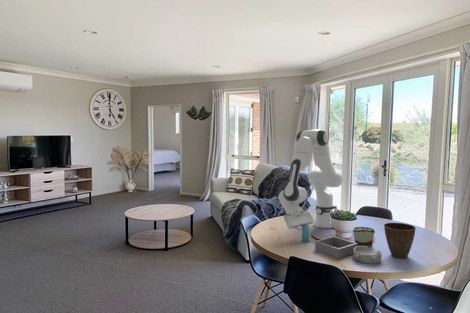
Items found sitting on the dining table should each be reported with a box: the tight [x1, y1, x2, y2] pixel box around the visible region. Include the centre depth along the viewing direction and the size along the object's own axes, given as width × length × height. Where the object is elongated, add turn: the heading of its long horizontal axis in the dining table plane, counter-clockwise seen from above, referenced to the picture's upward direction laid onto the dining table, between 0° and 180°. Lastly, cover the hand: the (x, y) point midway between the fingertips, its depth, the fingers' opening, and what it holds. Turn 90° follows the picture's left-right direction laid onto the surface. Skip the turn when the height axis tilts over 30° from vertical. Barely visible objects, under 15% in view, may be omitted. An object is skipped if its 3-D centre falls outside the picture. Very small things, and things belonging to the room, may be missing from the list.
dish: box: [352, 246, 382, 265], centre depth 170 cm, size 14×14×5 cm
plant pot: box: [383, 222, 417, 259], centre depth 174 cm, size 15×15×16 cm
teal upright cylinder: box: [301, 226, 310, 243], centre depth 200 cm, size 4×4×9 cm
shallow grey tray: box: [314, 235, 358, 260], centre depth 182 cm, size 16×16×5 cm
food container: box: [352, 226, 376, 248], centre depth 192 cm, size 12×6×10 cm, turn 84°
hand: (306, 231), depth 199 cm, fingers closed on teal upright cylinder, 4 cm apart
